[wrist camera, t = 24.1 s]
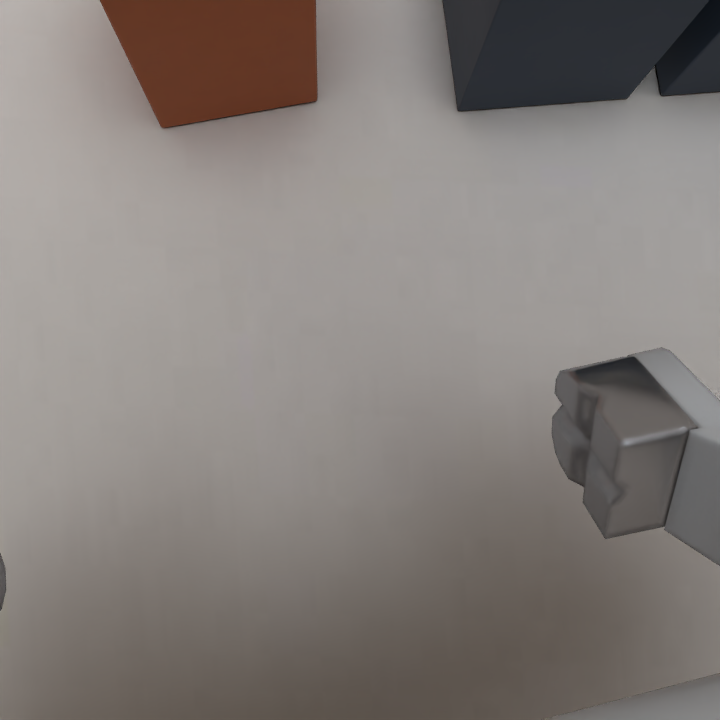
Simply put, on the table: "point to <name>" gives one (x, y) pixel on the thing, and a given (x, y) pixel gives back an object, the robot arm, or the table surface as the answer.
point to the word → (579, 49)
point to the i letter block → (218, 54)
